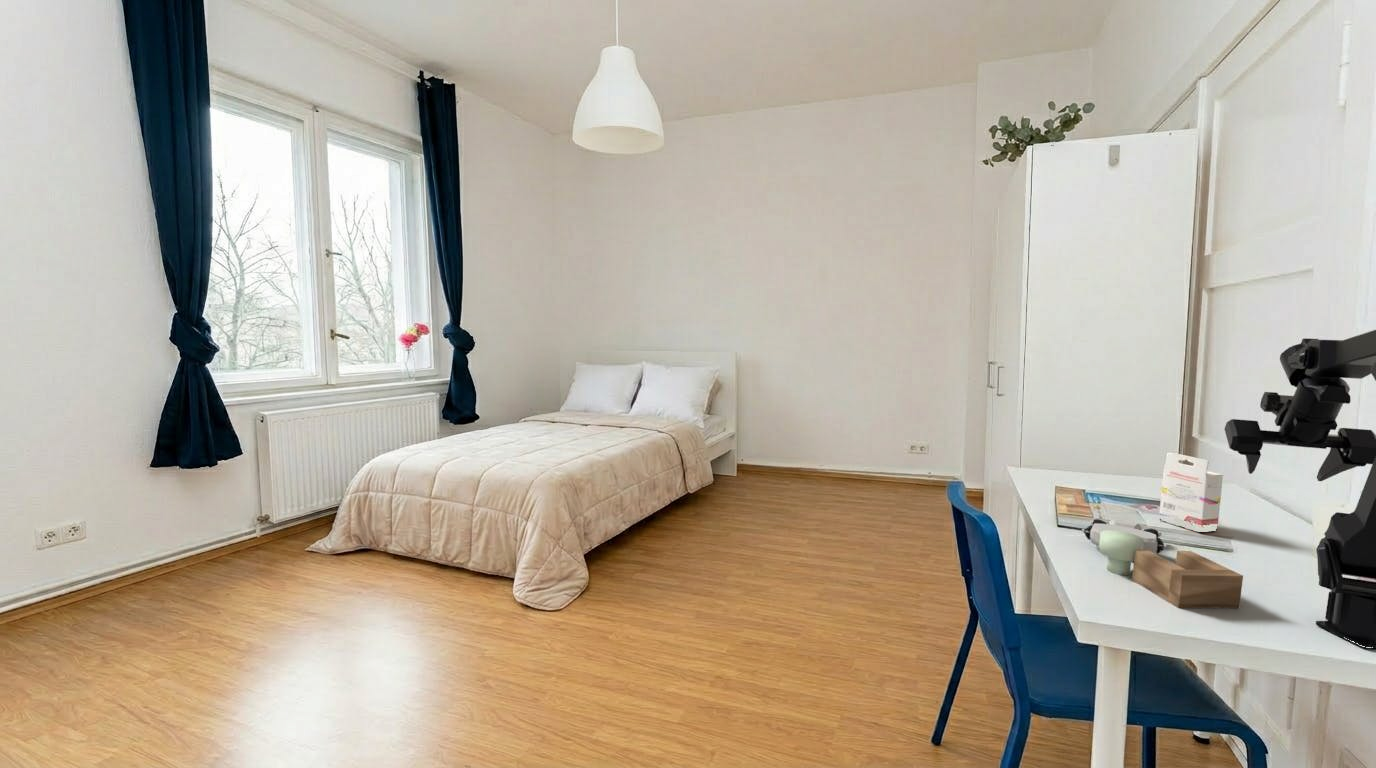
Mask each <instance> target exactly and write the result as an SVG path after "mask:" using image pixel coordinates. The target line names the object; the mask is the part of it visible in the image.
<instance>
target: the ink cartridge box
mask: <svg viewBox="0 0 1376 768" xmlns="http://www.w3.org/2000/svg"><path fill="white" fill-rule="evenodd" d="M1180 461H1184V462H1185V461H1188V462H1189V463H1192V464H1193V465H1189V464H1185V463H1181V462H1180ZM1164 464H1165V465H1164V466H1163V474H1162V475H1163V476H1162V485H1161V493H1160V494H1161V495H1160V504H1159V505H1160V506H1159V513H1161V514H1164V515H1167V516H1170V517H1174V518H1178V519H1181V520H1184V521H1188V522H1192V523H1195V524H1198V525H1210V524H1218V525H1219V518H1220V516H1219V515H1220V507H1221V498H1222V497H1221V496H1222V487H1223V478H1224V474H1223V473H1218V472H1214V471H1213V472H1212V471H1208V468H1209V461H1208V460H1207V459H1203V458H1198V457H1195V456H1189V455H1185V454H1180V453H1175V452H1171V451H1170V452H1167V453H1166V459H1165V463H1164Z"/></svg>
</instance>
